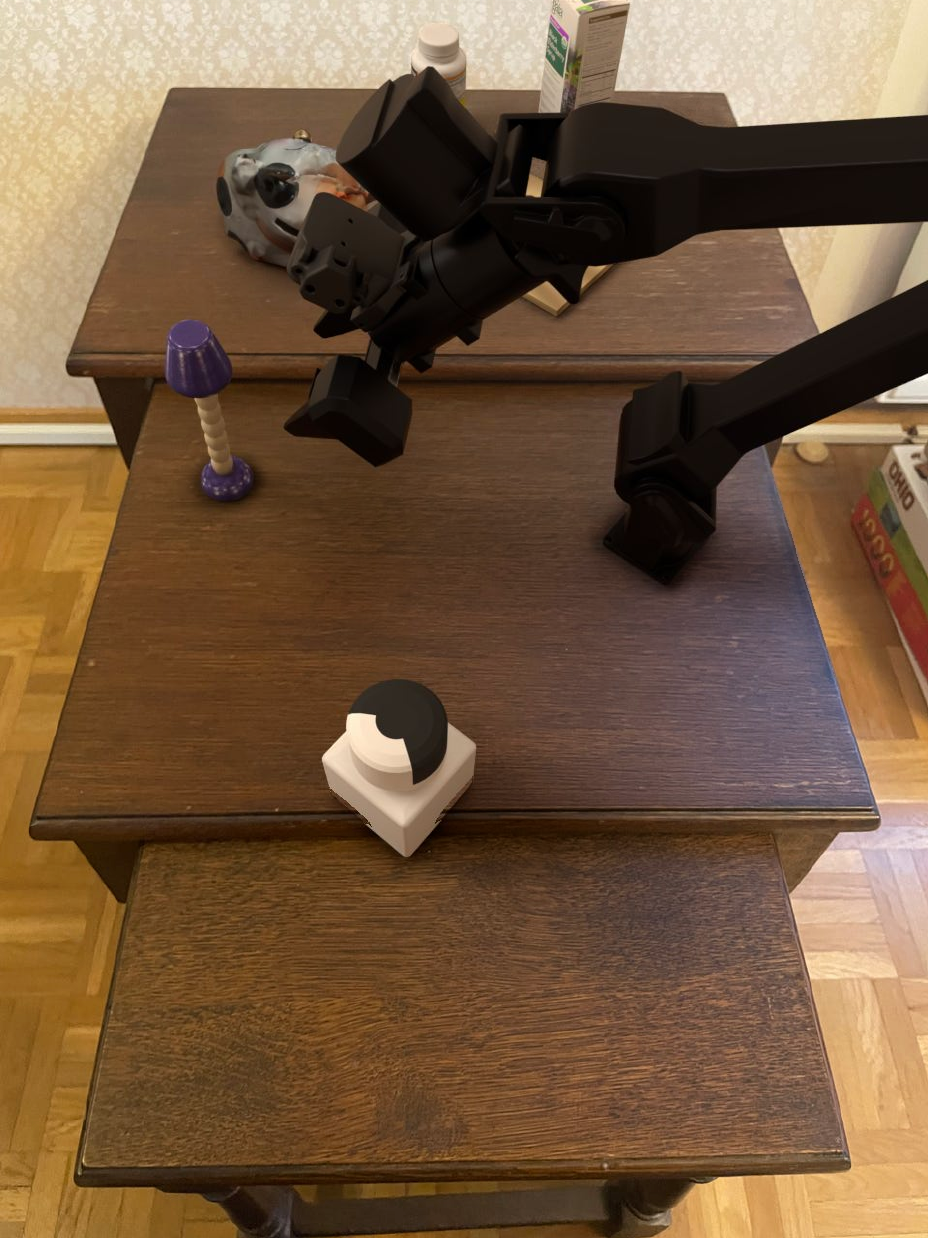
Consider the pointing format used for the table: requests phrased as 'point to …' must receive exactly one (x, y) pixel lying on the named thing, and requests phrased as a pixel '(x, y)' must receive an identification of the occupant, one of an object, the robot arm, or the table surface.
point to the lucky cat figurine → (279, 193)
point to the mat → (546, 292)
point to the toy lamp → (207, 403)
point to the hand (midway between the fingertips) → (304, 380)
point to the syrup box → (582, 53)
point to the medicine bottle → (399, 761)
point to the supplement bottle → (441, 56)
